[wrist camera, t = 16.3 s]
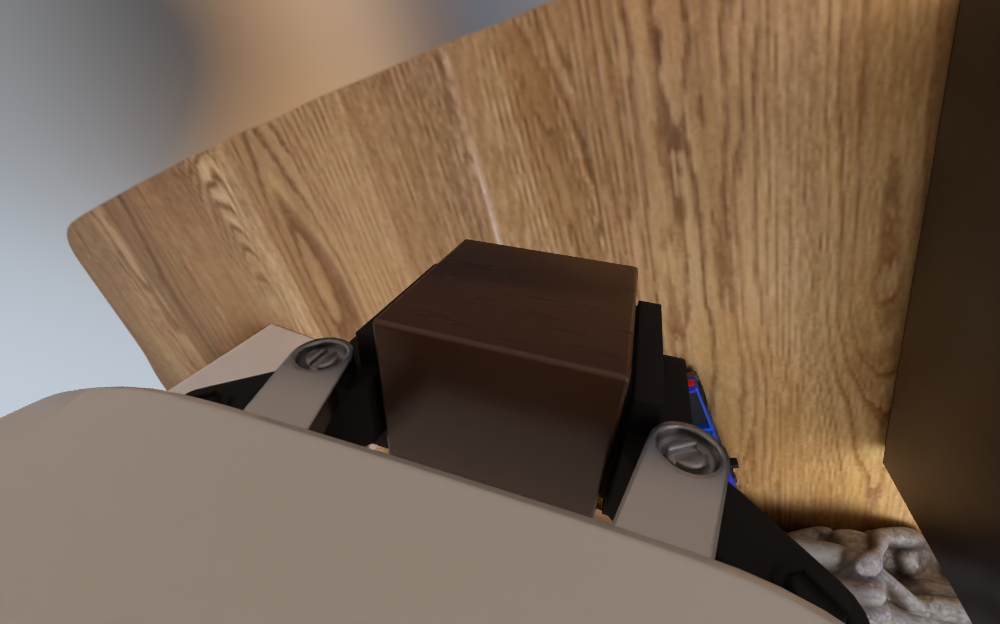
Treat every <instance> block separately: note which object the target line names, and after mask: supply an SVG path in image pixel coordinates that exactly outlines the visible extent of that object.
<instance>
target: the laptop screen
mask: <svg viewBox="0 0 1000 624" xmlns="http://www.w3.org/2000/svg"><path fill="white" fill-rule="evenodd" d="M883 464H884V465H885V467H886V469H887V471H888V473H889V474H890V476H891V478H892V480H893V482H894V484H895V485H896V487H897V489H898V491H899V493H900V494H901V496H902V498H903V500H904V502H905V503H906V505H907V507H908V509H909V511H910V512H911V514H912V516H913V518H914V520H915V521H916V523H917V525H918V527H919V529H920V530H921V532H922V534H923V536H924V538H925V539H926V541H927V543H928V545H929V547H930V549H931V550H932V552H933V554H934V556H935V558H936V559H937V561H938V563H939V565H940V567H941V568H942V570H943V572H944V574H945V576H946V577H947V579H948V581H949V583H950V585H951V586H952V588H953V590H954V592H955V594H956V595H957V597H958V599H959V601H960V603H961V605H962V606H963V608H964V610H965V612H966V614H967V615H968V617H969V619H970V621H971V623H972V624H1000V0H961V6H960V12H959V18H958V24H957V30H956V36H955V41H954V47H953V53H952V59H951V65H950V71H949V77H948V82H947V88H946V94H945V100H944V106H943V112H942V118H941V124H940V129H939V135H938V141H937V147H936V153H935V159H934V165H933V171H932V176H931V182H930V188H929V194H928V200H927V206H926V212H925V217H924V223H923V229H922V235H921V241H920V247H919V253H918V259H917V264H916V270H915V276H914V282H913V288H912V294H911V300H910V306H909V311H908V317H907V323H906V329H905V335H904V341H903V347H902V352H901V358H900V364H899V370H898V376H897V382H896V388H895V394H894V399H893V405H892V411H891V417H890V423H889V429H888V435H887V441H886V446H885V452H884V458H883Z"/></svg>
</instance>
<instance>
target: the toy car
mask: <svg viewBox="0 0 1000 624" xmlns="http://www.w3.org/2000/svg"><path fill="white" fill-rule="evenodd" d="M687 378H688V387H689V396H690V404H691V413H692V422H693V425H695V426H697V427H699V428H701V429H703V430H705V431H707V432H708V433H709V434H711V435H712V436H713V437H715V438H716V439H717V440H718V441H719V442H720V443H721V441H720V438H719V436H718V433H717V430H716V428H715V425H714V423H713V420H712V417H711V415H710V412H709V409H708V404H707V400H706V396H705V393H704V390H703V387H702V385H701V382H700V381H699V380H698V376H697V373H696V371H693V372H688V373H687ZM721 444H722V443H721ZM733 468H739V466H738V462H737V459H736V458H730V473H729V479H728V481H729V482H730V483H731V484H732V485H733V486H734V487H735V488H736V489H737V487H736V483H737V479H736V476H735V473H734V472H733Z"/></svg>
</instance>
